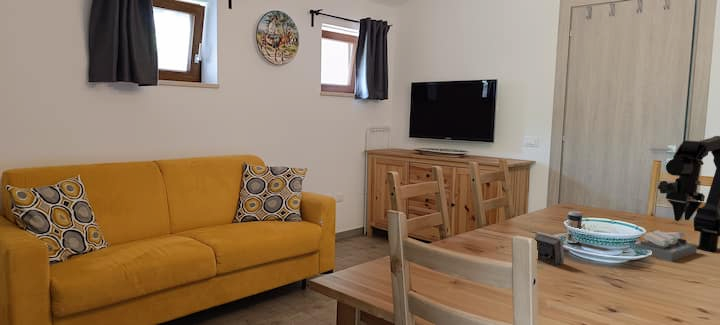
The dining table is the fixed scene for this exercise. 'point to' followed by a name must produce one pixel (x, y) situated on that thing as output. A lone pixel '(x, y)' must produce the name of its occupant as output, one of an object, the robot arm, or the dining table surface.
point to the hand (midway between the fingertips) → (681, 220)
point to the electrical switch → (549, 248)
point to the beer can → (573, 223)
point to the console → (669, 249)
